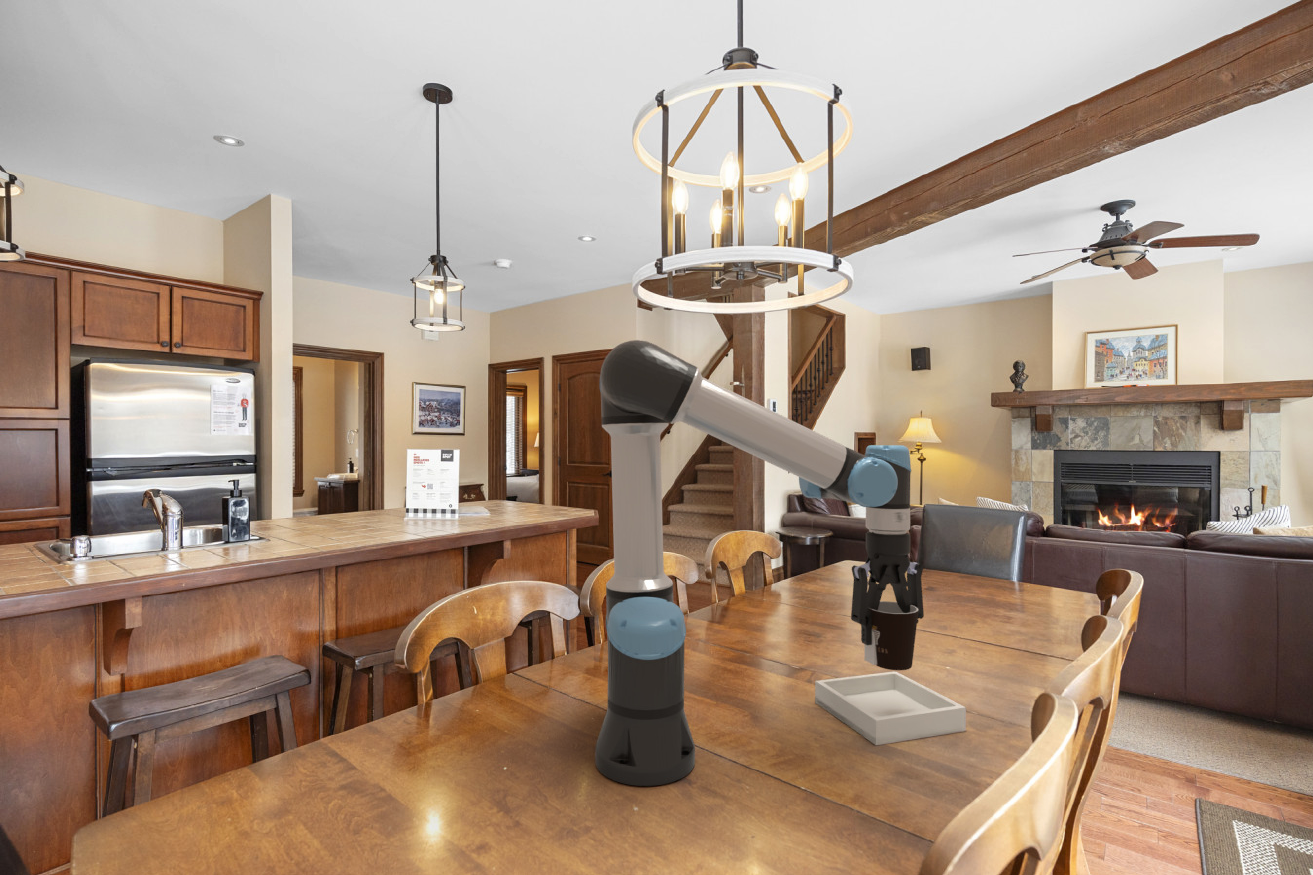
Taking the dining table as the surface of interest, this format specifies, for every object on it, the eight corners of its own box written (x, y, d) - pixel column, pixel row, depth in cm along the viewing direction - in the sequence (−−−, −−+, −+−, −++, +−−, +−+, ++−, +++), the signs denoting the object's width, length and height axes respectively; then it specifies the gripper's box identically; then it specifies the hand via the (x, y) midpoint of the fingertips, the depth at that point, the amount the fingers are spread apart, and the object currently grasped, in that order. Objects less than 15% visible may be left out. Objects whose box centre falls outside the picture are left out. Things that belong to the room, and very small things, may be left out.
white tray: (876, 745, 104) (876, 720, 104) (815, 702, 121) (815, 680, 121) (965, 730, 109) (965, 707, 109) (895, 691, 126) (895, 671, 127)
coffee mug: (923, 674, 109) (923, 615, 109) (870, 670, 111) (869, 612, 111) (910, 652, 120) (910, 598, 120) (862, 649, 122) (862, 596, 122)
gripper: (854, 536, 109) (854, 673, 109) (947, 531, 115) (946, 661, 115) (829, 530, 116) (828, 659, 116) (917, 526, 122) (917, 648, 122)
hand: (887, 660), depth 115 cm, fingers closed on coffee mug, 6 cm apart
